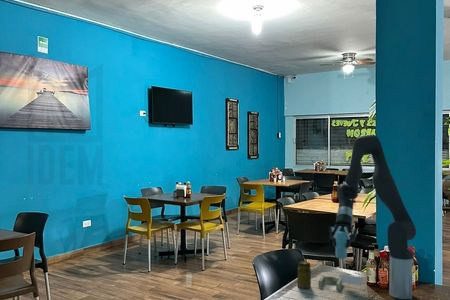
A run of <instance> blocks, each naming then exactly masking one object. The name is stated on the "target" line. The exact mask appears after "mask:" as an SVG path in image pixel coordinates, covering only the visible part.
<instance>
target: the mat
mask: <svg viewBox="0 0 450 300" xmlns="http://www.w3.org/2000/svg"><path fill="white" fill-rule="evenodd" d="M338 277H340V278H342V283H343V284H344V283H346V284H353V285H358V286H359V285H360V286H361V284H362V282H363V280H364V279H363V278H364V277H362V276H361V277H360V276H354V275H347V274H339V276H338Z"/></svg>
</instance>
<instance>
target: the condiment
mask: <svg viewBox="0 0 450 300" xmlns="http://www.w3.org/2000/svg"><path fill="white" fill-rule="evenodd" d="M311 276H312V269H311V263H310V262H309V261H305V260H304V261H302V260H301V261H299V262H298V267H297V287H298V289H300V290H310V289H311V288H312V283H311V282H312V281H311V280H312V277H311Z"/></svg>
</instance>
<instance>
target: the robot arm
mask: <svg viewBox="0 0 450 300" xmlns="http://www.w3.org/2000/svg"><path fill="white" fill-rule="evenodd" d="M351 151H352V153H351V158H350V163H349V168H348V171H347V174H346V177H345V178H344V181H345V183H340V184H339V185H338V186H337V196H338V209H337V212H336V219H335V225H334V226H331V225H329V226H328V234H329V239H330V240H332V246H333V247H334V248H336V231H345V232H347V243H346V249H347V250H348V249H349V248H351V242H355V240H356V238H357V235H358V233H359V232H358V228H353V227H352V226H353V225H352V223H353V218H354V216H353V215H354V212H353V211H354V202H353V200H355V199H357V198H358V196H359V184H360V181H361V179H362V177H363V173H364V170H363V167H362V163H361V161H362V159H363V158H364V156H369V155H371V157H372V159H373V163H374V169H373V173H372V184H373V185H372V186H373V188H374V190H375V193H376V196H377V197H378V198H379V200H380V201H381V202H382V203H383V205H384V206H385V207H386V208H387V209H388V210H389V212H390V214H391V216H392V218H393V220H394V221H392V222H390V223H389V225H388V227H387V232H386V234H387V249H388V252H389V287H388V289H389V290H388V293H389V296H390V297H393V298H395V299H400V300H412V299H413V251H412V250H410V249H409V246H408V243H409V241H411V240H414V238H415V237H416V235H417V229H416V225H415V223H414V221H413V219H412V218H411V216H410V213H408V212H409V211H408V210H407V208H406V206H405V204H404V202H403V199H402V197H401V195H400V192H399V190H398V187H397V184H396V182H395V179H394V177H393V175H392V173H391V170H390V167H389V165H388V162H387V159H386V156H385V155H386V154H385V152H384V149H383V146H382V142H381V141H380V139H379V137H378V136H377V135H376V134H367V135H361V136H358V137H356V139H355V140H354V142H353V147H352V150H351ZM334 231H335V232H334ZM333 232H334V234H333ZM351 232H352V235H351V237H350V234H351Z"/></svg>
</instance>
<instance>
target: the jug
mask: <svg viewBox="0 0 450 300" xmlns="http://www.w3.org/2000/svg"><path fill="white" fill-rule="evenodd" d="M335 232H336V247H335V258H336V259H343V260H344V259H347V257H348V249H346V243H347V232H345V231H335Z"/></svg>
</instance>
